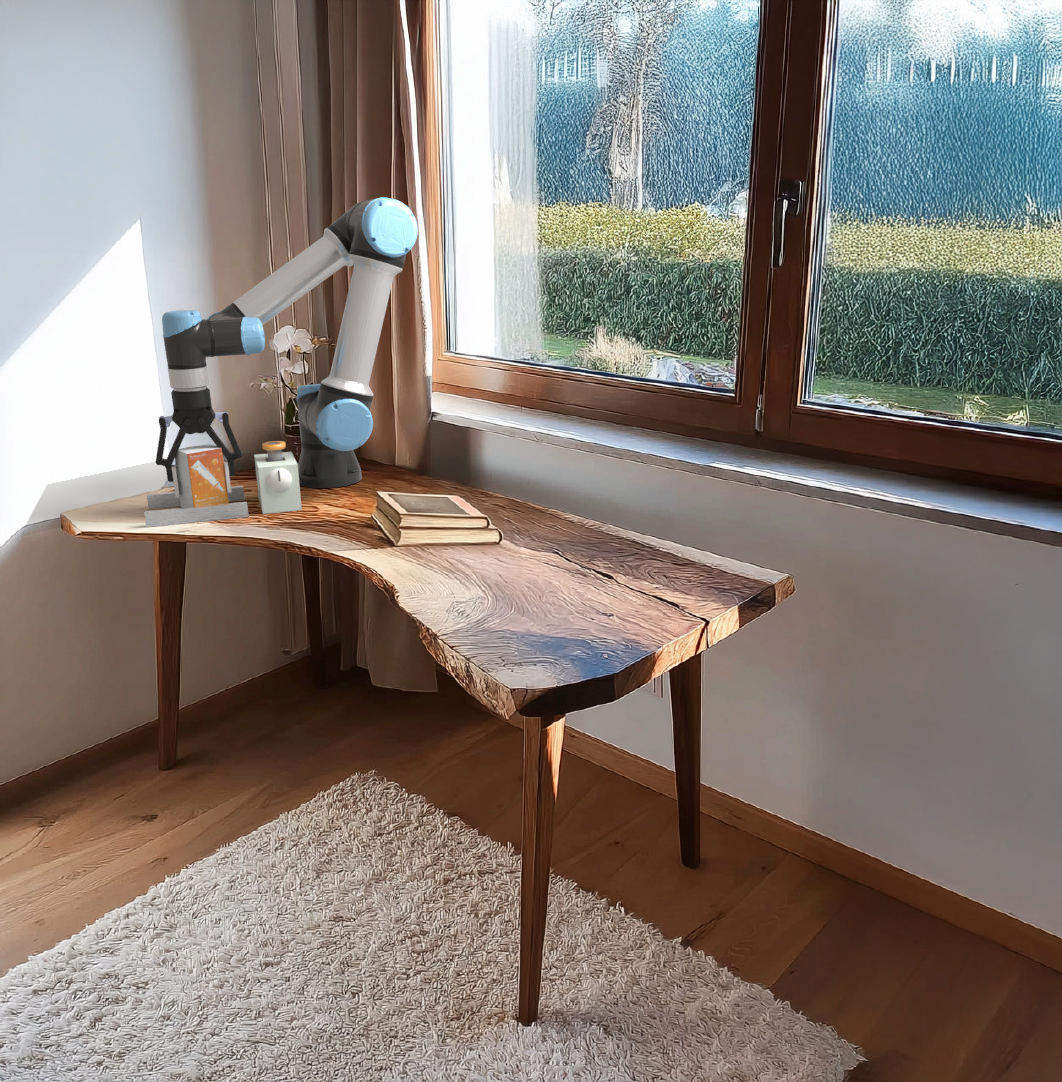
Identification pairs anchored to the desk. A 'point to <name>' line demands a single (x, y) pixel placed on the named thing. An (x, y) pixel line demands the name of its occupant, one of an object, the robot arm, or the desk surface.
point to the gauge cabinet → (278, 483)
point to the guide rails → (193, 509)
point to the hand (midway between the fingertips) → (203, 493)
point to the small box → (201, 476)
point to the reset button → (274, 450)
